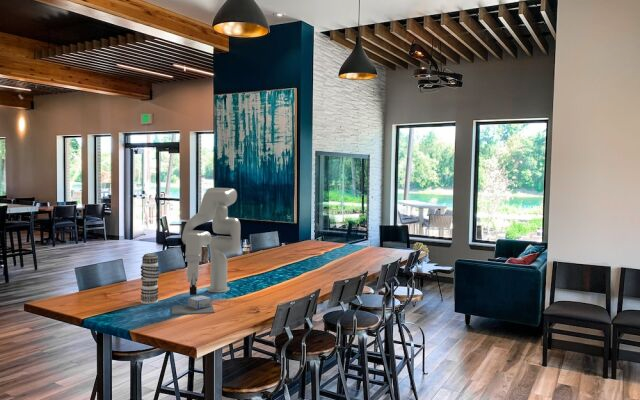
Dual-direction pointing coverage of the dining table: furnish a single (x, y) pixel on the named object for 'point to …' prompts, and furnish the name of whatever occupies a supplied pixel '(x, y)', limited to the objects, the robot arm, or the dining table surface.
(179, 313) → the charcoal mat
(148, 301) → the decorative candle
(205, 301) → the medicine box
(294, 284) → the dining table surface
